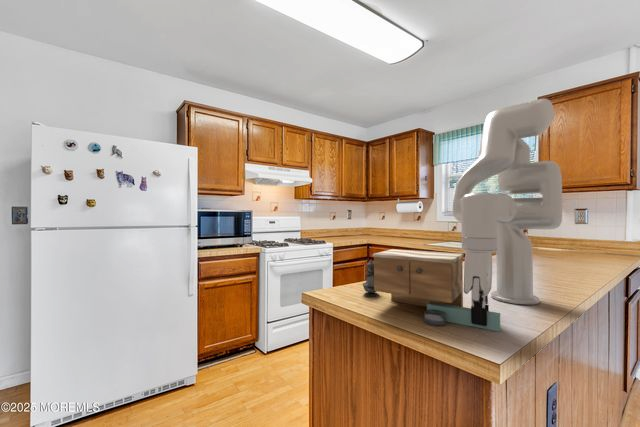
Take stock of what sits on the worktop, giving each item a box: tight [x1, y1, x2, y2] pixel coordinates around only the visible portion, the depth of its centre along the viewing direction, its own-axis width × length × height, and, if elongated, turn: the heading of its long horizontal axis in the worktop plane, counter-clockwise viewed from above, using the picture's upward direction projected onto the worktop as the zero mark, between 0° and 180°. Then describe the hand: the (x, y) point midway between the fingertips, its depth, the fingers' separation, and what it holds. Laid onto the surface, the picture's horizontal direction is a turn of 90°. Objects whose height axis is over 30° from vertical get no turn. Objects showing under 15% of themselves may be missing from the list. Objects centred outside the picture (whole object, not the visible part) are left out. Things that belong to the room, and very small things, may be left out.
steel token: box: [423, 309, 447, 328], centre depth 72 cm, size 5×5×2 cm
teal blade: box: [426, 302, 502, 332], centre depth 72 cm, size 2×16×4 cm, turn 54°
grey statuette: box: [362, 259, 380, 298], centre depth 98 cm, size 6×6×12 cm
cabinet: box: [372, 248, 465, 308], centre depth 81 cm, size 15×21×16 cm
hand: (480, 322), depth 69 cm, fingers closed on teal blade, 2 cm apart
